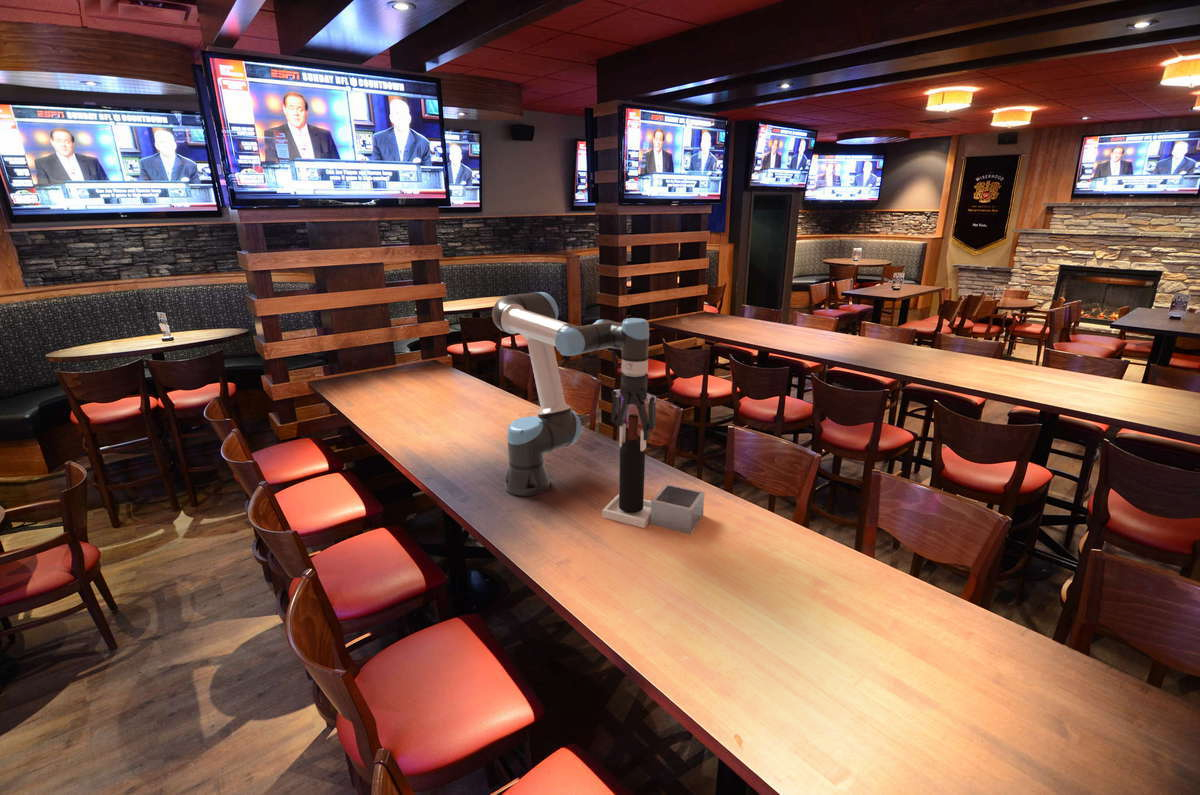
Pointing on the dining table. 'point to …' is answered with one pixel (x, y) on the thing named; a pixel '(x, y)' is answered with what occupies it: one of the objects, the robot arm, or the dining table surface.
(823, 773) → the dining table surface
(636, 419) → the wine bottle
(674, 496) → the holder
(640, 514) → the tray
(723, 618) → the dining table surface
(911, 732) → the dining table surface
